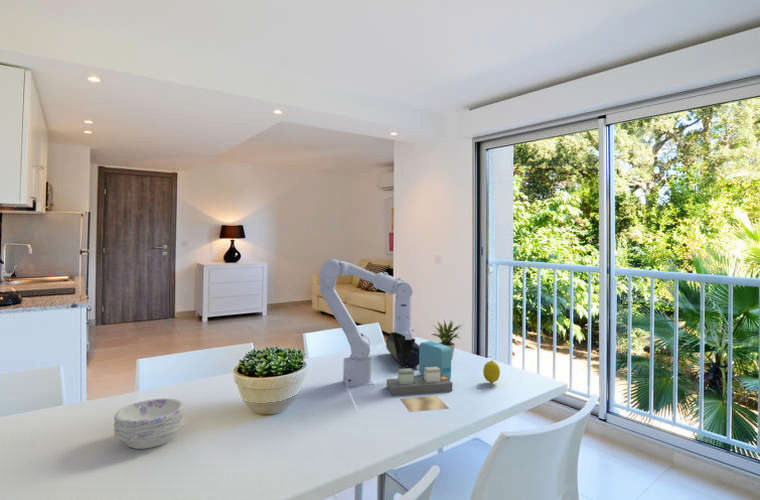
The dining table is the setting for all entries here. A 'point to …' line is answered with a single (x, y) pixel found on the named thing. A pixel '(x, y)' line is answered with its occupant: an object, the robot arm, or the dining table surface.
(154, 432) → the paper bowls
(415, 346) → the portable speaker
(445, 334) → the house plant
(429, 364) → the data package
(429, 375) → the twin plug
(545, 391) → the dining table surface
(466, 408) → the dining table surface
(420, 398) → the cork mat
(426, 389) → the power strip
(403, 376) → the plug
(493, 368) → the lemon
